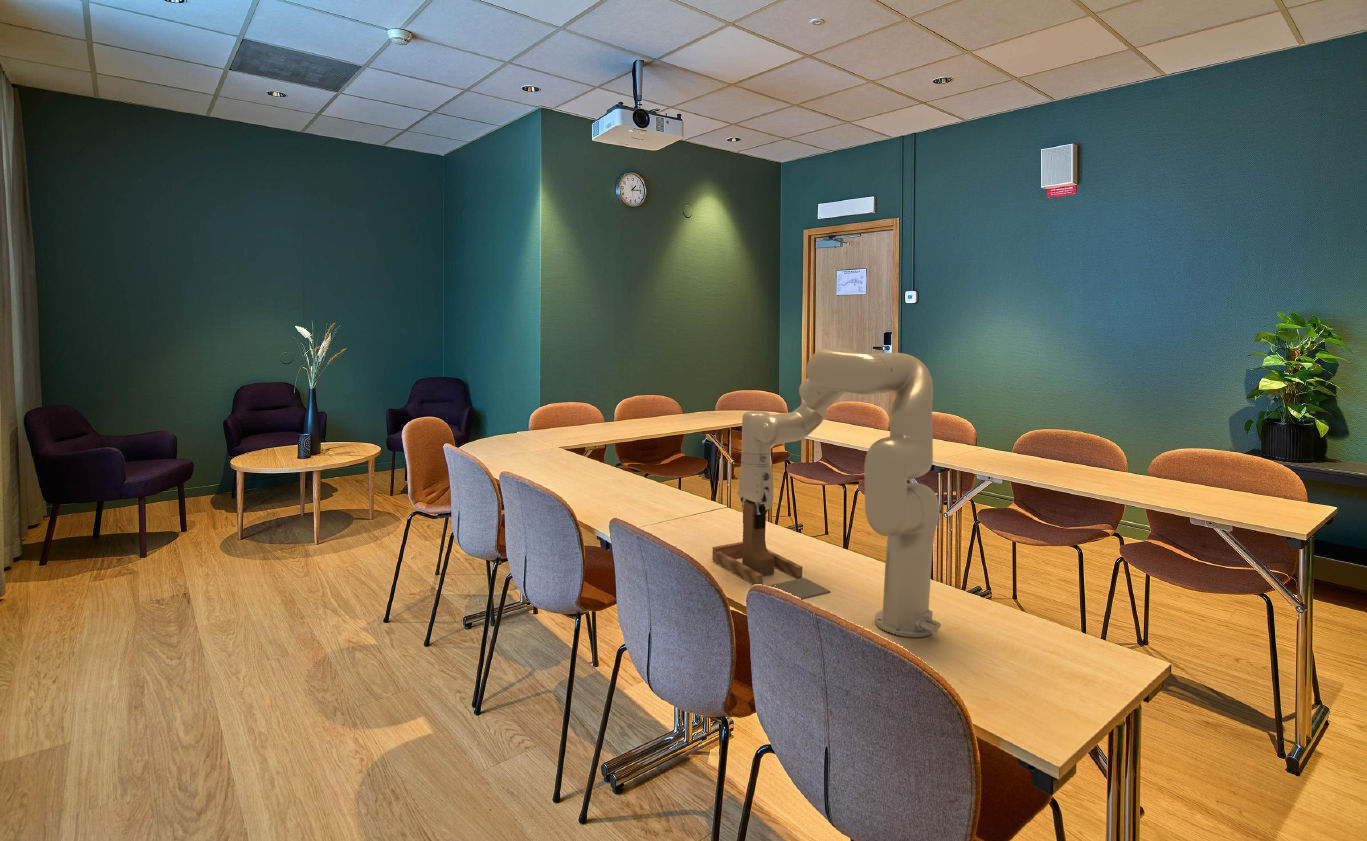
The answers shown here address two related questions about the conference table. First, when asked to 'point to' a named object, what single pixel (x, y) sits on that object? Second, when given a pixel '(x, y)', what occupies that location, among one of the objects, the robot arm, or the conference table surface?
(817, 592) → the mat
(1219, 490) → the conference table surface
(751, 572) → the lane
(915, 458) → the robot arm
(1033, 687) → the conference table surface
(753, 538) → the wooden block
